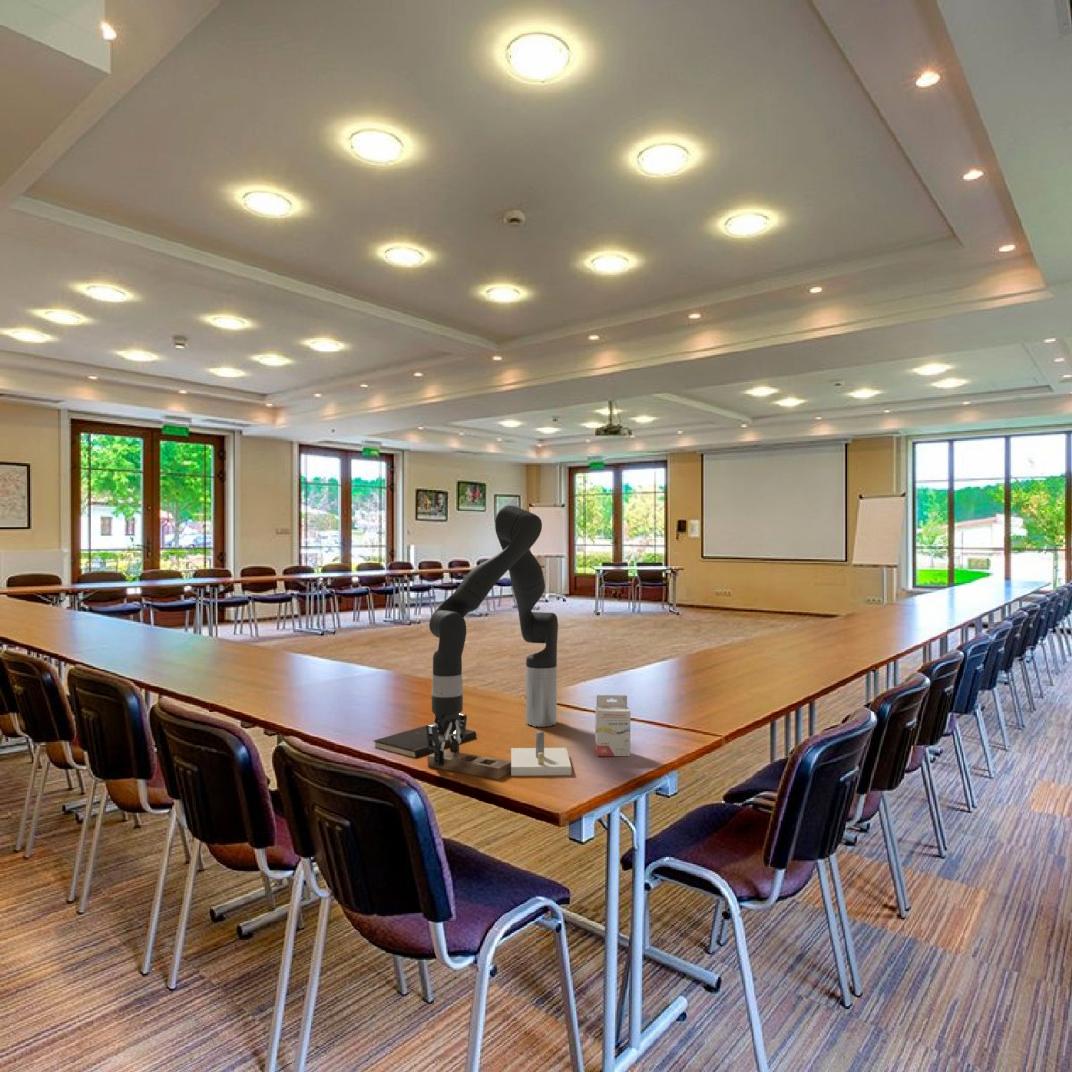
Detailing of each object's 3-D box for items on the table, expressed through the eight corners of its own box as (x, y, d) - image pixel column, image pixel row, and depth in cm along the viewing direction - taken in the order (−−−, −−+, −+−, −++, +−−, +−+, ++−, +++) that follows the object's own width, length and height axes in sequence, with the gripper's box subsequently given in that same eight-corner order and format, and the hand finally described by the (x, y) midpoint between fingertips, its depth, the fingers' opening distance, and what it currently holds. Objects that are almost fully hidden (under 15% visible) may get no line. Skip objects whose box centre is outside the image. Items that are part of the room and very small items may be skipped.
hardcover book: (373, 749, 184) (373, 740, 184) (435, 730, 202) (435, 722, 202) (415, 760, 174) (415, 751, 174) (476, 739, 193) (476, 731, 193)
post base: (511, 756, 176) (511, 724, 176) (566, 755, 177) (566, 724, 177) (511, 775, 161) (511, 741, 161) (571, 775, 162) (571, 740, 162)
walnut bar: (427, 766, 168) (427, 755, 168) (441, 759, 173) (441, 749, 173) (498, 779, 158) (498, 768, 158) (511, 772, 164) (511, 761, 164)
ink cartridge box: (597, 757, 175) (597, 698, 176) (594, 751, 180) (594, 694, 180) (630, 757, 176) (630, 698, 176) (627, 751, 181) (627, 694, 181)
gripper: (442, 700, 161) (442, 773, 161) (476, 688, 174) (476, 756, 173) (416, 696, 164) (416, 768, 164) (451, 685, 177) (451, 752, 177)
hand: (447, 761), depth 169 cm, fingers closed on walnut bar, 5 cm apart
